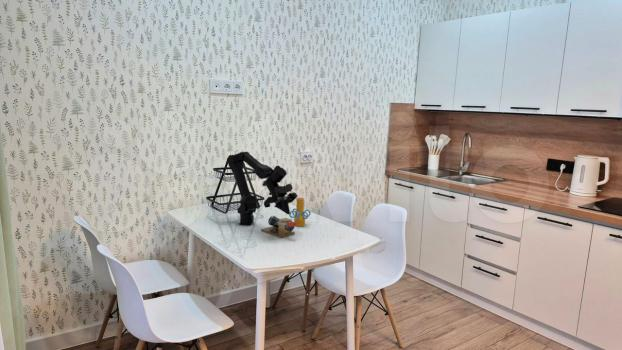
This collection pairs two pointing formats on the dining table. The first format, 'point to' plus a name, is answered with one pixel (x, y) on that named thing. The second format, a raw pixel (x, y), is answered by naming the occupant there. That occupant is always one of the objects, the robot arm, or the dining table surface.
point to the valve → (279, 227)
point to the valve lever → (287, 223)
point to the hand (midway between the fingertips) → (288, 213)
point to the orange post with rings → (300, 213)
